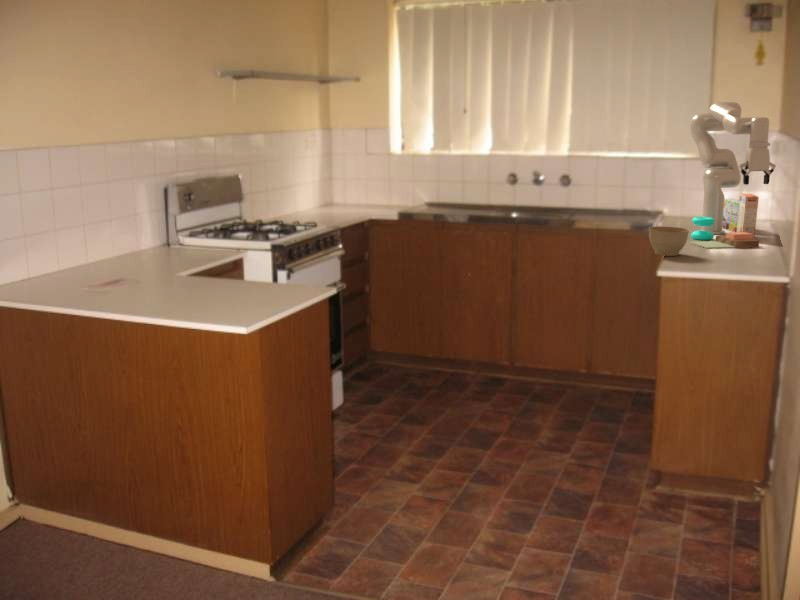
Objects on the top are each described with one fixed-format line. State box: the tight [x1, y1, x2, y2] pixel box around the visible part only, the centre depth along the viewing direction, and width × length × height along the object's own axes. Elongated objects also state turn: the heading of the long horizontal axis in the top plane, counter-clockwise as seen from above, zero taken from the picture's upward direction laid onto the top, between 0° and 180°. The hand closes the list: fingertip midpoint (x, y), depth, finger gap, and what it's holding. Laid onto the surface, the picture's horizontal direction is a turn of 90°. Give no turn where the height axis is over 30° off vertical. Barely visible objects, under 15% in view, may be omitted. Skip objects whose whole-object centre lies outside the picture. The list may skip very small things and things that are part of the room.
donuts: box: [690, 216, 715, 241], centre depth 395 cm, size 10×10×10 cm
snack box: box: [722, 198, 740, 232], centre depth 421 cm, size 21×6×15 cm, turn 5°
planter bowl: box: [648, 226, 690, 257], centre depth 353 cm, size 16×16×11 cm
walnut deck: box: [715, 235, 760, 249], centre depth 378 cm, size 17×11×3 cm, turn 9°
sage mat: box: [689, 240, 736, 250], centre depth 377 cm, size 16×13×1 cm
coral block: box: [725, 231, 752, 239], centre depth 378 cm, size 6×9×2 cm, turn 99°
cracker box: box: [737, 193, 760, 240], centre depth 392 cm, size 14×6×21 cm, turn 168°
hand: (756, 184), depth 378 cm, fingers open, 9 cm apart
